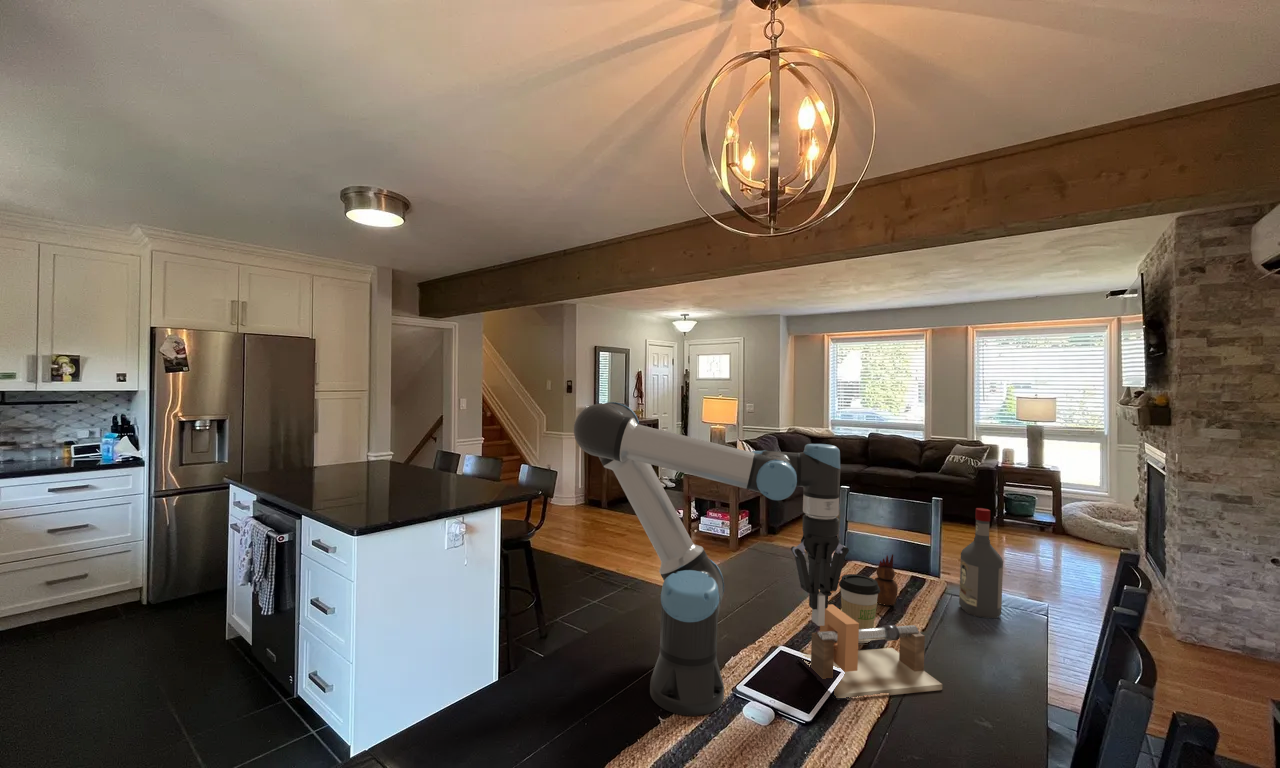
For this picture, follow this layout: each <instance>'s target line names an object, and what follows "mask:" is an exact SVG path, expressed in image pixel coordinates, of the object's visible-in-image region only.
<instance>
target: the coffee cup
mask: <svg viewBox="0 0 1280 768" xmlns="http://www.w3.org/2000/svg"><path fill="white" fill-rule="evenodd" d="M874 579H875V578H873V577H871V576H870V577H869V576H866V575H863V574H862V575H861V574H856V573H855V574H854V573H851V574H847V573H846V574H844V575H842V576H841V579H839V583H838V587H840V592H841V593H840V601H841V604H840V605H841V611H842V612H844V613H845V614H846V615H848V616H849V617H851V618H852V619H853V620H855V621H856V622H857V623H859V629H867V628H875V627H874V625H875V619H876V613H877V607H878V603H877V597H878V593H880V588H879V586H878V583H877V581H876V580H874ZM870 641H871V642H872V640H867V641H858V643H868V642H870ZM871 642H870V643H871Z"/></svg>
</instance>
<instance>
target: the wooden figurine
mask: <svg viewBox="0 0 1280 768" xmlns="http://www.w3.org/2000/svg"><path fill="white" fill-rule="evenodd" d="M876 575H877V577H875V578H873V579H874V580H876V581H877V583H878V586H879V588H880V593H878V597H877V602H878V603H877V604H879V603H881V604H885V605H891V606H894V604H895V603H896V601H897V598H898V589H899V587H898V584H897V581H895V580H894V578H895V575H896V574H895V570H894V554H891V556H890V559H889V555H886V557H885V558H883V559H882V560H880V561H879V564H878V566H877V568H876ZM881 604H880V605H881Z"/></svg>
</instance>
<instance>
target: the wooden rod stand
mask: <svg viewBox="0 0 1280 768" xmlns="http://www.w3.org/2000/svg"><path fill="white" fill-rule="evenodd" d="M818 632H819V631H818ZM818 632H811V645H810V647H811V648H810V654H802V655H803V656H805V657H807V658H810V659H811V663H810V664H808V663H809V662H807V661H805V660H804V662H805V663H806V664H807V665H809V667H810V665H811V668H812V669H813V670H814V671H815V672H816V673H817V674H818V675H819V676H820V677H821V678H822V679H826V678H833V666H835V667H837V668H840V667H839V666H838V665H837V664H836V663H835V662H834V642H833V641H831V640H822V639H821V638H819V637H818V636H817V633H818ZM925 642H926V636H925V634H922V633H921V632H920V631H919V633H917V634H911V637H907V638H899V651H897V650H896V649H895V648H893V647H889V648H888V647H887V648H885V647H884V648H877V649H875V648H874V649H861V650H859V649H858V668H857V671H848V672H845V674H844V677H843V678H842V680H841V681H840V682H839V684H838V685H837V686H836V688H835V690H834V695H835V696H836V698H846V697H849V698H850V697H857V696H858V697H859V696H864V695H873V694H880V693H889V694H890V695H889V696H894V695H896V696H897V695H904V694H913V693H914V694H915V693H924V692H934V691H942V690H943V683H941V682H940V681H939V680H937V678H935V677H933V676H932V675H930V674H929V673H928V672H926V671H925V648H926V647H925ZM802 660H803V659H802Z"/></svg>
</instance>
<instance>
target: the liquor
mask: <svg viewBox="0 0 1280 768" xmlns="http://www.w3.org/2000/svg"><path fill="white" fill-rule="evenodd" d="M974 519H975V531H974V532H975V533H974V538H973V541H972V542H971V543H969V544H968V545H967V546H965V547H964V548H962V550H961V552H960V563H959V564H960V566H959V567H960V568H959V573H960V574H959V593H958V595H959V597H958V600H959V601H958V604H959V606H960V607H961V609H962V610H963V611H964V612H966V614H968V615H971V616H973V617H977V618H984V619H985V618H987V619H995V620H996V619H997V618H999V617H1001V615H1002V604H1003V602H1002V601H1003V579H1004V578H1003V574H1004V573H1003V572H1004V560H1003V559H1002V558H1003V557H1002V556H1001V554H1000V553H999V552H998V551H997V550H996V549H995V547H993V545H992V544H991V540H990V522H991V510H990V509H988V508H983V507H976V508H975V518H974Z"/></svg>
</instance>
